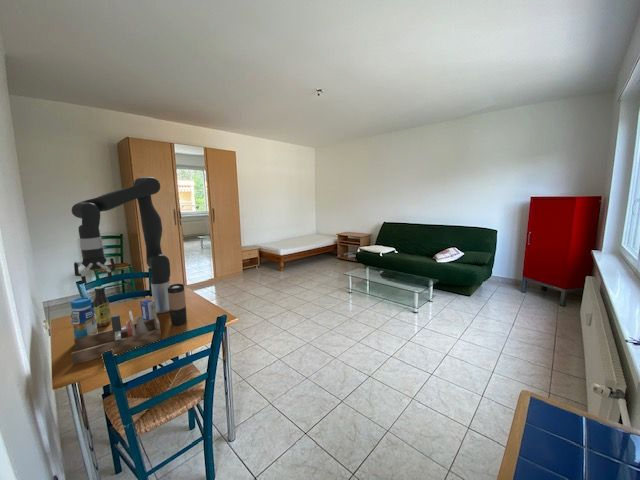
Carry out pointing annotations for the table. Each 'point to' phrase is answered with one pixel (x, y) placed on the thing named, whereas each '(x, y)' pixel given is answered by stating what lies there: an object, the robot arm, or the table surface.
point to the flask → (140, 326)
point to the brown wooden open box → (115, 345)
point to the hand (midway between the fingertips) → (97, 281)
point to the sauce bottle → (101, 307)
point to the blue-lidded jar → (83, 317)
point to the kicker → (117, 327)
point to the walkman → (148, 309)
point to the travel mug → (177, 304)
